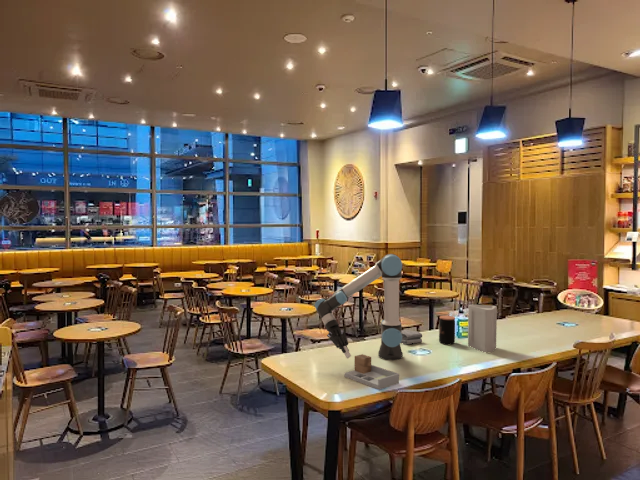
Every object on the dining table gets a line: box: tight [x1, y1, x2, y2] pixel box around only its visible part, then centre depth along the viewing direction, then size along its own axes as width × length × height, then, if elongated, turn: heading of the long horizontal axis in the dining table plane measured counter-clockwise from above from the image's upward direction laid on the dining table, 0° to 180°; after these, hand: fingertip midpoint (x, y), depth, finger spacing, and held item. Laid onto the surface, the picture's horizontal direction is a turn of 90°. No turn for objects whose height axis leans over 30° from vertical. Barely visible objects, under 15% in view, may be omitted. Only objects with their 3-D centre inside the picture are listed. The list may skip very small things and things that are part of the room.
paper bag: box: [467, 304, 498, 353], centre depth 309 cm, size 19×15×28 cm
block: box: [354, 353, 372, 374], centre depth 255 cm, size 6×7×8 cm
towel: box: [400, 329, 423, 345], centre depth 328 cm, size 15×18×8 cm
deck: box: [344, 364, 400, 390], centre depth 246 cm, size 15×26×5 cm, turn 39°
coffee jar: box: [438, 315, 456, 345], centre depth 323 cm, size 11×11×18 cm
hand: (348, 357), depth 263 cm, fingers closed
